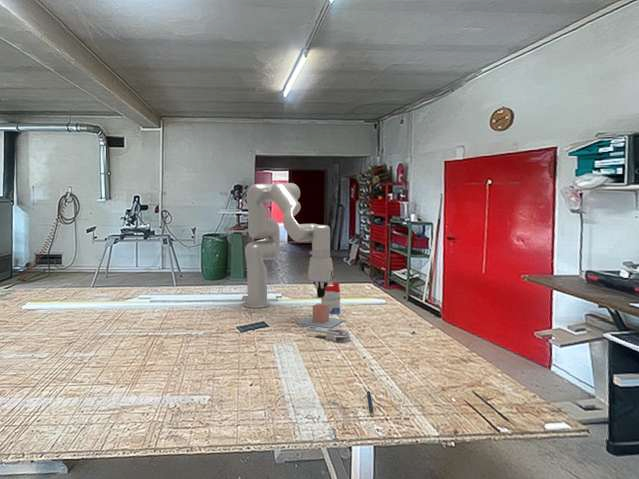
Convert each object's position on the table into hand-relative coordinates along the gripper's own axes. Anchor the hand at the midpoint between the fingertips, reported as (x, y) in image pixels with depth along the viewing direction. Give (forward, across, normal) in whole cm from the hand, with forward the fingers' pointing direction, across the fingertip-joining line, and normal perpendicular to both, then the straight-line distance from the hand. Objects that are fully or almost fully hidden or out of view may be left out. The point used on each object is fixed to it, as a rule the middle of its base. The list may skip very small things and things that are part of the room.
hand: (320, 297), depth 209 cm
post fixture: (+11, 0, 0) cm, 11 cm away
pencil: (+12, +48, -67) cm, 83 cm away
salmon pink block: (+10, 0, 0) cm, 11 cm away
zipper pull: (+11, +12, -18) cm, 25 cm away
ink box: (+11, -4, +18) cm, 22 cm away
